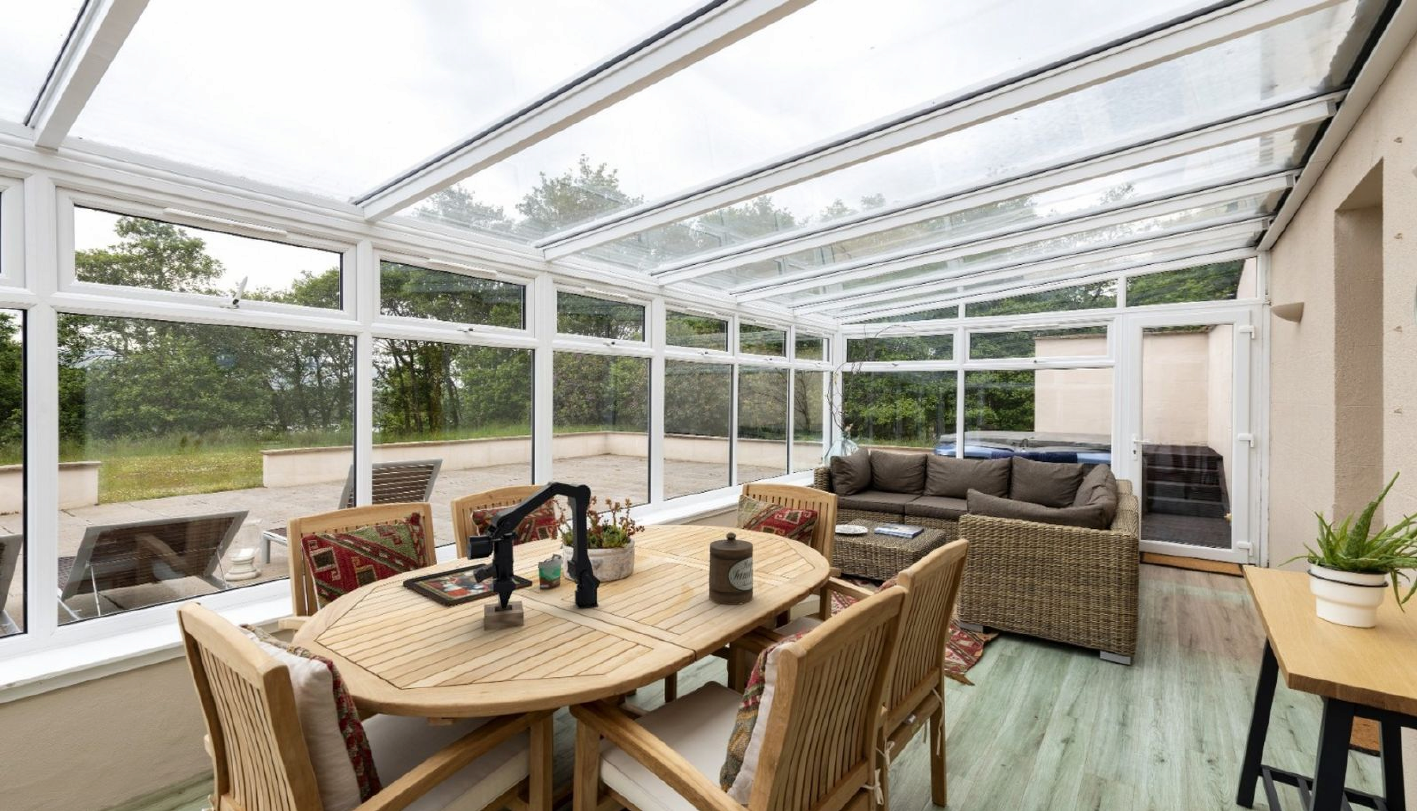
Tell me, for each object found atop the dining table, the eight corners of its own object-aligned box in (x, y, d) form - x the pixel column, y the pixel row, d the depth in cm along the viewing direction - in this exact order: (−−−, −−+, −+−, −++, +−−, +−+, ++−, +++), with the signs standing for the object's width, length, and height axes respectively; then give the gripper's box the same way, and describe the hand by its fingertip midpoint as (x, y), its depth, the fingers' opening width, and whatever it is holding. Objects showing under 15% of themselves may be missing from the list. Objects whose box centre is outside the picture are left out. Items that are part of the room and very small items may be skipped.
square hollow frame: (521, 613, 196) (521, 600, 195) (523, 625, 185) (523, 612, 185) (484, 617, 192) (484, 604, 192) (484, 630, 181) (484, 616, 181)
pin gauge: (508, 611, 190) (508, 584, 190) (508, 614, 188) (508, 587, 187) (498, 612, 189) (498, 585, 189) (498, 615, 187) (498, 588, 186)
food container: (554, 591, 217) (554, 563, 217) (537, 590, 218) (537, 562, 218) (569, 581, 229) (569, 554, 229) (553, 580, 230) (553, 553, 230)
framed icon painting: (391, 589, 221) (391, 581, 221) (478, 567, 250) (478, 560, 250) (454, 612, 199) (454, 603, 199) (541, 585, 228) (541, 577, 228)
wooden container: (740, 607, 201) (740, 539, 201) (701, 600, 209) (701, 534, 208) (760, 595, 214) (760, 530, 214) (722, 588, 221) (722, 526, 221)
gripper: (475, 550, 194) (475, 600, 195) (474, 565, 177) (474, 620, 177) (512, 547, 198) (513, 596, 198) (515, 561, 180) (515, 615, 181)
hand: (503, 606), depth 188 cm, fingers closed on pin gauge, 3 cm apart
